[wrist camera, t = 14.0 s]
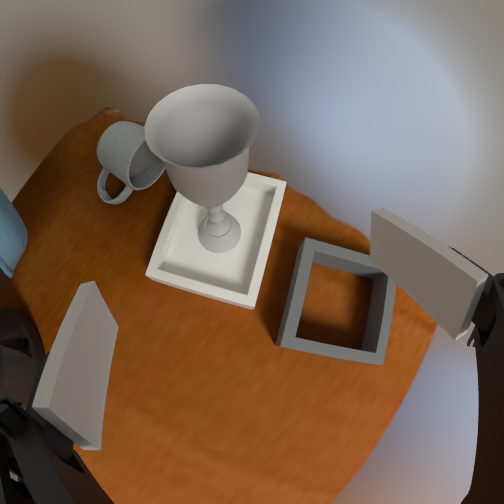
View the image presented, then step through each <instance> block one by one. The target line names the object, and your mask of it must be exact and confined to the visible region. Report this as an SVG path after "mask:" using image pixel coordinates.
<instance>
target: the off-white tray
mask: <svg viewBox="0 0 504 504" xmlns="http://www.w3.org/2000/svg"><path fill="white" fill-rule="evenodd" d="M285 186H286V182H285V181H281V180H277V179H274V178H270V177H266V176H262V175H258V174H253V173H249V172H248V174H247V176H246V179H245V181H244V183H243V185H242V186H241V188H240V189H239V190H238V191H237V193H236V194H235V195H234V196H233V197H232V198H231V199H230V200H229V201H227V202H225V203H224V204H223V208H222V209H223V210H224V212H226V213H228V214H230V215H232V216H233V217H234V218H235V219H236V220H237V221H238V223H239V224H240V228H241V238H240V240H239V242H238V244H237V245H236V246H235V247H234V248H233V249H231V250H230V251H228V252H224V253H213V252H210V251H208V250H206V249H205V248H204V247H203V246H202V245H201V243H200V241H199V239H198V227H199V225H200V223H201V221H202V220H203V219H204V218H205V217H206V216H207V212H208V210H207V208H206V207H204V206H200V205H197V204H195V203H193V202H191V201H189V200H188V199H186V198H185V197H183V196H182V195H181V194H180V193H179V192H178V191H177V193H176V195H175V198H174V200H173V202H172V205H171V207H170V210H169V212H168V215H167V217H166V220H165V222H164V225H163V227H162V230H161V232H160V235H159V238H158V240H157V243H156V246H155V248H154V251H153V254H152V257H151V259H150V262H149V265H148V268H147V271H146V274H145V275H146V276H147V277H149V278H150V279H152V280H153V281H156V282H159V283H163V284H166V285H169V286H172V287H175V288H178V289H182V290H185V291H188V292H192V293H195V294H198V295H202V296H205V297H208V298H212V299H215V300H219V301H222V302H226V303H230V304H233V305H237V306H240V307H244V308H248V309H252V310H253V309H254V307H255V304H256V300H257V296H258V292H259V289H260V285H261V281H262V277H263V273H264V269H265V266H266V262H267V258H268V254H269V250H270V246H271V242H272V238H273V234H274V230H275V227H276V223H277V219H278V215H279V211H280V207H281V203H282V199H283V194H284V190H285Z"/></svg>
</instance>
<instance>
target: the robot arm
mask: <svg viewBox="0 0 504 504" xmlns="http://www.w3.org/2000/svg"><path fill="white" fill-rule="evenodd" d="M27 241H28V236H27V230H26V227H25V225H24V223H23V221H22V219H21V217H20V216H19V214H18V212H17V211H16V209H15V208H14V207H13V205H12V204H11V202H10V201H9V199H8V198H7V196H6V195H5V194H4V192H3V191H2V189H1V188H0V295H1V293H2V291H3V289H4V287H5V285H6V284H7V282H8V280H9V278H12V277H13V275H14V269H15V267H16V265H17V263H18V262H19V260H20V258H21V256H22V254H23V252H24V251H25V249H26V246H27ZM369 260H370V261H371V262H372V263H373V264H375V265H376V266H377V267H378V268H379V269H380V270H381V271H383V272H384V273H385V274H386V275H387V276H388V277H389V278H390V279H391V280H393V281H394V282H395V283H396V284H397V285H398V286H399V287H400V288H401V289H402V290H404V291H405V292H406V293H407V294H408V295H409V296H410V297H411V298H412V299H413V300H414V301H415V302H416V303H417V304H418V305H420V306H421V307H422V308H423V309H424V310H425V311H426V312H427V313H428V314H429V315H430V316H431V317H432V318H433V319H434V320H435V321H436V322H437V323H438V324H439V325H440V326H441V327H442V328H443V329H444V330H445V331H446V332H447V333H448V334H449V335H450V336H451V337H452V338H453V339H454V340H457V339H458V338H460V337H461V336H463V335H464V334H465V333H466V332H467V330H468V328H469V326H470V323H471V321H472V322H473V323H474V324H475V327H474V330H473V332H472V334H471V336H470V338H469V340H468V342H467V346H470V344H471V342H472V340H473V339H474V343H473V347H475V349H476V358H477V369H478V391H479V417H478V437H477V449H476V457H475V465H474V471H473V477H472V483H471V487H470V490H469V493H468V494H467V496H466V497H465V498H464V499H463V501H462V502H461V504H504V273H498V274H496V275H495V276H492V275H491V274H490V273H488V272H487V271H485V270H484V269H483V268H481V267H480V266H478V265H477V264H476V263H474V262H473V261H471V260H469V259H468V258H467V257H465V256H464V255H463V256H462V254H461V253H460V252H458V251H457V250H455V249H454V248H451V247H448V246H446V245H445V244H443V243H442V242H440V241H439V240H437V239H435V238H434V237H432V236H430V235H429V234H427V233H426V232H424V231H422V230H421V229H419V228H417V227H416V226H414V225H412V224H411V223H409V222H407V221H406V220H404V219H402V218H400V217H399V216H397V215H395V214H393V213H391V212H390V211H388V210H386V209H384V208H382V209H377V210H373V211H371V240H370V258H369ZM117 332H118V325H117V323H116V322H115V320H114V318H113V316H112V314H111V313H110V311H109V309H108V307H107V305H106V303H105V301H104V299H103V298H102V296H101V294H100V292H99V290H98V288H97V286H96V284H95V282H94V281H91V282H87V283H84V284H81V285H80V287H79V288H78V290H77V292H76V294H75V296H74V299H73V301H72V303H71V305H70V307H69V309H68V311H67V313H66V315H65V318H64V320H63V322H62V324H61V327H60V329H59V331H58V334H57V336H56V338H55V341H54V343H53V346H52V348H51V351H50V352H48V353H47V355H46V356H45V353H44V349H43V345H42V342H41V339H40V336H39V334H38V331H37V329H36V328H35V326H34V324H33V322H32V321H31V320H30V318H29V317H28V316H27V315H26V314H25V313H24V312H22V311H21V310H19V309H17V308H13V307H9V306H0V430H1V431H0V504H114V503H113V501H112V500H111V499H110V498H109V497H108V495H107V494H106V493H105V492H104V490H103V489H102V488H101V486H100V485H99V484H98V482H97V481H96V480H95V478H94V477H93V475H92V474H91V473H90V471H89V470H88V468H87V467H86V465H85V464H84V462H83V461H82V459H81V458H80V456H79V455H78V453H77V452H76V451H75V450H73V443H75V444H77V445H78V446H79V447H81V448H82V449H84V450H101V437H102V426H103V416H104V407H105V400H106V392H107V385H108V379H109V373H110V367H111V362H112V356H113V351H114V346H115V341H116V336H117ZM25 408H26V410H24V409H25ZM9 471H10V472H12V473H13V474H15V475H17V476H18V482H17V481H15V480H13V479H12V478H10V473H9Z"/></svg>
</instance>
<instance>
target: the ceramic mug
mask: <svg viewBox="0 0 504 504" xmlns="http://www.w3.org/2000/svg"><path fill="white" fill-rule="evenodd" d="M96 150H97V158H98V160H99V162H100V163H101V165H102V166H103V169H102V171H101V173H100V176H99V178H98V183H97V189H98V193H99V196H100V197H101V199H102V200H103V201H104V202H106V203H108V204H119V203H122V202H123V201H125V200H126V199H127V198H128V197H129V195H130V194H131V193H132V191H133V190H143V189H146V188H148V187H150V186H151V185H152V184H154V183H155V182H156V181H157V180H158V178H159V177H160V176H161V175H162V173H163V172H164V170H165V166H164V164H163V161H162V160H161V159H160V158H159V157H158V156H156V155H155V154H154V153H153V152H152V151H151V150H150V148H149V146H148V144H147V142H146V140H145V127H144V126H141V125H138V124H136V123H133V122H128V121H119V122H116V123H113V124H112V125H110V126H109V127H108V128H106V130H105V131H104V132H103V133H102V135H101V136H100V138H99V141H98V144H97V149H96ZM109 172H110V173H112V174H113V175H115V176H116V177H117V178H118V179H120V180H121V181H122V182H123V183H125V184H126V187H125V189H124V190H123V191H122V192H121V194H120V195H119V196H118V197H117V198H115V199H112V198H111V197H110V196H109V195H108V193H107V191H105V184H106V179H107V177H108V175H109Z"/></svg>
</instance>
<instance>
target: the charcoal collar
mask: <svg viewBox="0 0 504 504" xmlns="http://www.w3.org/2000/svg"><path fill="white" fill-rule="evenodd" d="M369 258H370V256H369V255H366V254H363V253H359V252H356V251H352V250H349V249H345V248H342V247H338V246H335V245H331V244H328V243H324V242H321V241H317V240H314V239H310V238H306V237H305V239H304V241H303V242H302V244H301V245H300V247H299V248H298V252H297V256H296V261H295V265H294V269H293V274H292V278H291V282H290V287H289V291H288V295H287V299H286V303H285V308H284V312H283V316H282V320H281V324H280V328H279V331H278V335H277V339H276V343H275V345H277V346H281V347H285V348H290V349H294V350H299V351H303V352H308V353H313V354H318V355H323V356H328V357H334V358H339V359H345V360H351V361H357V362H363V363H370V364H377V365H383V362H384V357H385V353H386V348H387V343H388V338H389V332H390V326H391V320H392V314H393V307H394V300H395V292H396V283H395V282H394V281H393V280H391V279H390V278H389V277H388V276H387V275H386V274H385V273H384V272H383V271H381V270H380V269H379V268H378V267H377V266H376V265H375V264H373V263H372V262H371V261H370V260H369ZM312 263H314V264H318V265H322V266H325V267H329V268H333V269H337V270H340V271H344V272H348V273H351V274H355V275H359V276H362V277H366V278H370V279H373V286H372V293H371V299H370V305H369V311H368V317H367V322H366V328H365V333H364V338H363V342H362V347H361V350H356V349H350V348H345V347H340V346H335V345H330V344H325V343H320V342H315V341H310V340H306V339H301V338H297V337H295V336H296V332H297V328H298V324H299V320H300V316H301V311H302V307H303V303H304V298H305V294H306V289H307V285H308V280H309V275H310V270H311V266H312Z"/></svg>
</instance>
